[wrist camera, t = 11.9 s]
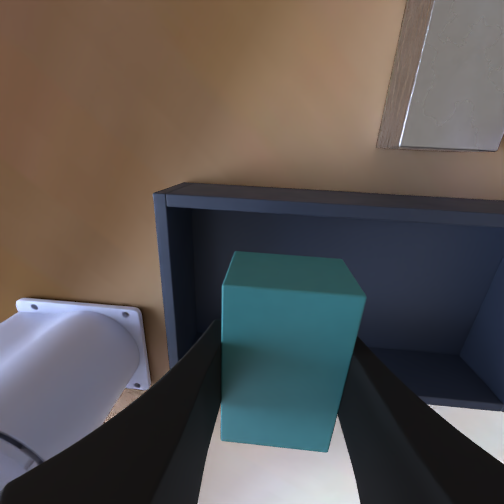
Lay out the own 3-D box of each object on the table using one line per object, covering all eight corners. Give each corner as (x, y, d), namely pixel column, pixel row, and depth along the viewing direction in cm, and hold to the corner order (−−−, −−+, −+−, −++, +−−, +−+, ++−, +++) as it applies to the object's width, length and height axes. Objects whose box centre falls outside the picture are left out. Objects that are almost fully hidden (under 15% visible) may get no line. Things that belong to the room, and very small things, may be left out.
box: (191, 332, 20) (170, 379, 16) (183, 182, 15) (152, 192, 11) (459, 356, 18) (511, 413, 14) (529, 202, 14) (628, 221, 10)
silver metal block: (375, 147, 14) (398, 147, 11) (411, -22, 11) (451, -74, 9) (455, 151, 14) (497, 151, 11) (509, -21, 11) (582, -74, 9)
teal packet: (230, 381, 13) (220, 441, 10) (234, 250, 10) (221, 284, 7) (316, 390, 12) (328, 453, 10) (342, 258, 10) (368, 296, 7)
